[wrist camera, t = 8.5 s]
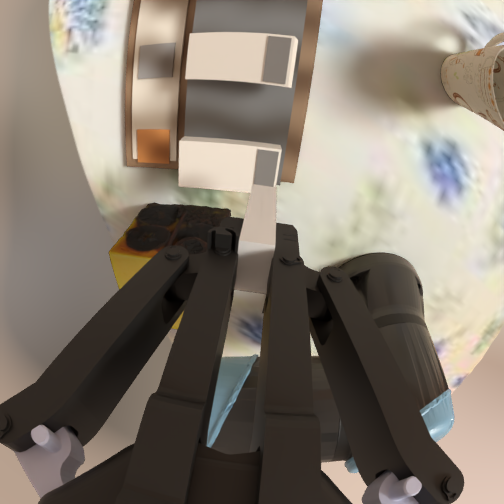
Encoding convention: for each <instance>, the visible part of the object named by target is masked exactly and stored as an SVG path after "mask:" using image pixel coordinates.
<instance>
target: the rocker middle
mask: <svg viewBox="0 0 504 504" xmlns="http://www.w3.org/2000/svg"><path fill="white" fill-rule="evenodd" d="M297 46H298V39H297V38H296V37H295V36H288V35H279V34H267V33H250V32H207V33H190V36H189V44H188V54H187V64H186V76H185V79H204V80H226V81H240V82H250V83H260V84H268V85H275V86H282V87H289V88H291V87H292V80H293V74H294V67H295V60H296V53H297Z"/></svg>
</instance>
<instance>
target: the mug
mask: <svg viewBox="0 0 504 504" xmlns="http://www.w3.org/2000/svg"><path fill="white" fill-rule="evenodd" d="M501 42H504V33H500V34H498V35H496V36H495V37H493V38H492V39H491V40H490V41H489V42H488V43H487V44H486V46H485V48H482V49H477V50H472V51H467V52H462V53H458V54H454V55H451V56H449V57H447V58H446V59H445V60H444V62H443V64H442V68H441V80H442V84H443V86H444V89H445V91H446V93H447V94H448V96H449V97H450V98H451V99H452V100H453V101H454V102H456V103H457V104H459V105H461V106H463V107H465V108H467V109H468V110H470V111H472V112H474V113H476V114H477V115H479V116H481V117H483V118H484V119H486V120H488V121H489V122H491V123H493V124H494V125H496V126H497V127H499V128H500V129H502V130H503V131H504V45H502V46H496V45H498V44H499V43H501Z"/></svg>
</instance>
